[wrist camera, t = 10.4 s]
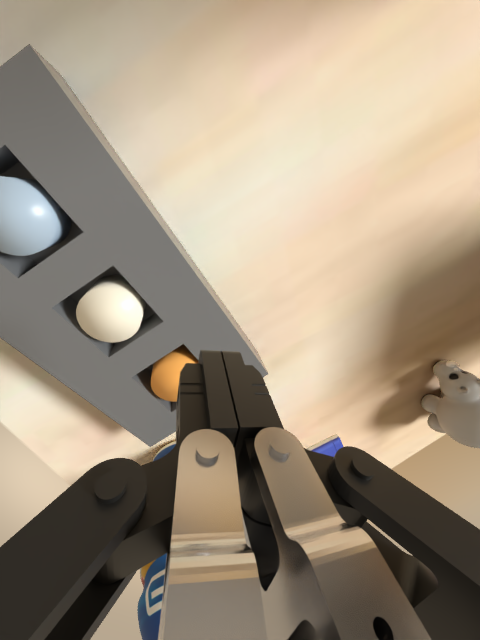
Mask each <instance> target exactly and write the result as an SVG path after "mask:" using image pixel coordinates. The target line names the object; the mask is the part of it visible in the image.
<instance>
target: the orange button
mask: <svg viewBox="0 0 480 640" xmlns="http://www.w3.org/2000/svg"><path fill="white" fill-rule="evenodd" d="M186 363H198V359H197V358H196V357H195V356H194V355H193V354H192V353H191V352H190V350H189V349H188V348H187V347H186V346H185V345H184V344H182V345H181V346H179V347H178V348H176V349H175V350H173V351H172V352H170V353H168V354H167V355H165V356H164V357H162V358H161V359H159V360H158V361H156V362H155V363H153V369H152V376H151V388H152V390H153V392H154V393H155V394H156V395H157V396H158V397H160V398H161V399H164V400H167V401H173V402H176V401H177V395H178V387H179V378H180V372H181V370H182V369H183V367H184V365H185V364H186Z"/></svg>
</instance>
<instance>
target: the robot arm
mask: <svg viewBox="0 0 480 640" xmlns="http://www.w3.org/2000/svg"><path fill="white" fill-rule="evenodd" d="M367 519H369V520H370V521H371V522H372V523H374V524H375V525H376V526H377V527H379V528H380V529H381V530H382V531H383V532H385V533H386V534H387V535H388V536H390V537H391V538H392V539H393V540H395V541H396V542H397V543H398V544H399V545H401V546H402V547H403V548H405V549H406V550H407V551H408V552H409V553H411V554H412V555H413V556H411V555H408V554H406V553H405V552H403V551H402V550H400V549H399V548H398V547H397V546H396V545H394V544H393V543H392V542H391V541H390V540H388V539H387V538H386V537H385V536H383V535H382V534H381V533H380V532H379V531H377V530H376V529H375V528H374V527H372V526H371V525H370V524H369V523H367V522H366V521H367ZM166 553H167V557H166V567H165V577H164V587H163V598H162V607H161V617H160V625H159V634H158V640H480V530H479V529H478V528H477V527H475V526H474V525H472V524H471V523H469V522H468V521H466V520H465V519H463V518H462V517H460V516H459V515H458V514H456V513H454V512H453V511H452V510H450V509H449V508H447V507H445V506H444V505H443V504H441V503H440V502H438V501H437V500H435V499H434V498H432V497H431V496H430V495H428V494H427V493H425V492H424V491H422V490H421V489H419V488H418V487H416V486H415V485H413V484H412V483H411V482H409V481H408V480H406V479H405V478H403V477H402V476H400V475H398V474H397V473H396V472H394V471H393V470H391V469H390V468H388V467H387V466H386V465H384V464H383V463H381V462H380V461H378V460H377V459H375V458H374V457H372V456H371V455H369V454H368V453H366V452H365V451H363V450H361V449H358V448H355V447H348V446H347V447H342V448H340V449H339V450H338V451H337V452H336V454H335V456H334V457H333V456H329V455H325V454H321V453H317V452H313V451H310V450H307V449H305V448H303V446H302V444H301V443H300V441H299V440H298V439H297V438H296V437H295V436H294V435H293V434H291V433H290V432H288V431H287V430H284V428H283V426H282V423H281V421H280V418H279V416H278V413H277V411H276V409H275V406H274V404H273V401H272V399H271V396H270V395H269V392H268V389H267V387H266V386H265V382H264V380H263V377H262V375H261V373H260V372H259V371H258V370H257V369H256V368H255V367H254V366H253V365H245V364H244V361H243V358H242V355H241V353H240V352H233V351H211V350H200V354H199V360H198V363H186V364H185V365H184V367H183V369H182V370H181V372H180V378H179V387H178V395H177V406H176V445H175V447H174V448H173V449H172V450H171V451H170V452H169V453H168V454H167V455H165V456H164V457H162V458H160V459H158V460H156V461H153V462H150V463H148V464H145V465H142V466H140V465H139V464H138V463H136V462H135V461H133V460H130V459H125V458H115V459H110V460H106V461H104V462H101V463H99V464H98V465H96V466H94V467H93V468H91V469H90V470H89V471H87V472H86V473H85V474H84V475H83V476H82V477H81V478H79V479H78V480H77V481H76V482H75V483H74V484H72V485H71V486H70V487H69V488H68V489H67V490H66V491H65V492H63V493H62V494H61V495H60V496H59V497H58V498H56V499H55V500H54V501H53V502H52V503H51V504H49V505H48V506H47V507H46V508H45V509H44V510H43V511H41V512H40V513H39V514H38V515H37V516H36V517H34V518H33V519H32V520H31V521H30V522H29V523H28V524H26V525H25V526H24V527H23V528H22V529H21V530H20V531H18V532H17V533H16V534H15V535H14V536H13V537H11V538H10V539H9V540H8V541H7V542H6V543H5V544H3V545H2V546H1V547H0V640H90V639H91V637H92V636H93V634H94V632H95V631H96V630H97V628H98V627H99V625H100V624H101V623H102V621H103V620H104V618H105V617H106V615H107V614H108V612H109V611H110V609H111V608H112V607H113V605H114V604H115V602H116V601H117V599H118V598H119V596H120V595H121V593H122V592H123V590H124V589H125V587H126V586H127V585H128V583H129V582H130V580H131V579H132V577H133V576H134V574H135V573H136V571H137V570H138V569H140V568H142V567H143V566H145V565H147V564H149V563H150V562H152V561H154V560H156V559H157V558H159V557H161V556H163V555H164V554H166Z"/></svg>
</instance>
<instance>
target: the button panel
mask: <svg viewBox="0 0 480 640" xmlns="http://www.w3.org/2000/svg"><path fill="white" fill-rule="evenodd" d="M0 176H4V177H18V178H29V179H34V180H37V181H38V182H39V183H40V184H41V185H42V186H43V188H44V189H45V190H46V191H47V192H48V193H49V194H50V195H51V196H52V198H53V199H54V200H55V201H56V202H57V203H58V204H59V205H60V207H61V208H62V209H63V210H64V211H65V212H66V213H67V214H68V215H69V217H70V218H71V227H70V231H69V233H68V235H67V236H66V237H65V239H63V240H62V241H61V242H59V243H57V244H55V245H53V246H51V247H48V248H46V249H44V250H42V251H40V252H37V253H35V254H32V255H26V256H16V255H10V254H6V253H3V252H0V338H1V339H3V340H4V341H6V342H7V343H8V344H10V345H11V346H12V347H14V348H15V349H17V350H18V351H19V352H21V353H22V354H23V355H25V356H26V357H28V358H29V359H30V360H32V361H33V362H34V363H36V364H37V365H39V366H40V367H41V368H43V369H44V370H45V371H47V372H48V373H49V374H51V375H52V376H54V377H55V378H56V379H58V380H59V381H60V382H62V383H63V384H65V385H66V386H67V387H69V388H70V389H71V390H73V391H74V392H76V393H77V394H78V395H80V396H81V397H82V398H84V399H85V400H87V401H88V402H89V403H91V404H92V405H93V406H95V407H96V408H98V409H99V410H100V411H102V412H103V413H104V414H106V415H107V416H108V417H110V418H111V419H113V420H114V421H115V422H117V423H118V424H119V425H121V426H122V427H124V428H125V429H126V430H128V431H129V432H130V433H132V434H133V435H135V436H136V437H137V438H139V439H140V440H141V441H143V442H144V443H146V444H147V445H148V446H150V447H151V446H153V445H154V444H156V443H158V442H159V441H161V440H162V439H164V438H166V437H167V436H169V435H171V434H172V433H174V432H175V431H176V406H177V401H176V402H173V401H167V400H164V399H161V398H160V397H158V396H157V395H156V394H155V393H154V392H153V390H152V388H151V376H152V369H153V363H155V362H156V361H158V360H159V359H161V358H162V357H164V356H165V355H167V354H168V353H170V352H172V351H173V350H175V349H176V348H178V347H179V346H181V345H182V344H184V345H185V346H186V347H187V348H188V349H189V350H190V352H191V353H192V354H193V355H194V356H195V357H196V358H197V359H198V360H199V354H200V350H211V351H233V352H240V353H241V355H242V358H243V361H244V364H245V365H253V366H254V367H255V368H256V369H257V370H258V371H259V372H260V373H261V375H262V377H264V376H266V375H267V374H268V372H267V370H266V368H265V366H264V364H263V362H262V360H261V358H260V356H259V354H258V352H257V350H256V349H255V348H254V346H253V345H252V343H251V342H250V340H249V339H248V338H247V336H246V335H245V333H244V332H243V331H242V329H241V328H240V326H239V325H238V324H237V322H236V321H235V319H234V318H233V317H232V315H231V314H230V312H229V311H228V309H227V308H226V307H225V305H224V304H223V302H222V301H221V300H220V298H219V297H218V295H217V294H216V293H215V291H214V290H213V288H212V287H211V286H210V284H209V283H208V281H207V280H206V279H205V277H204V276H203V274H202V273H201V271H200V270H199V269H198V267H197V266H196V264H195V263H194V262H193V260H192V259H191V257H190V256H189V255H188V253H187V252H186V250H185V249H184V248H183V246H182V245H181V243H180V242H179V240H178V239H177V238H176V236H175V235H174V233H173V232H172V231H171V229H170V228H169V226H168V225H167V224H166V222H165V221H164V219H163V218H162V217H161V215H160V214H159V212H158V211H157V210H156V208H155V207H154V205H153V204H152V202H151V201H150V200H149V198H148V197H147V195H146V194H145V193H144V191H143V190H142V188H141V187H140V186H139V184H138V183H137V181H136V180H135V179H134V177H133V176H132V174H131V173H130V172H129V170H128V169H127V167H126V166H125V164H124V163H123V162H122V160H121V159H120V157H119V156H118V155H117V153H116V152H115V150H114V149H113V148H112V146H111V145H110V143H109V142H108V141H107V139H106V138H105V136H104V135H103V133H102V132H101V131H100V129H99V128H98V126H97V125H96V124H95V122H94V121H93V119H92V118H91V117H90V115H89V114H88V112H87V111H86V110H85V108H84V107H83V105H82V104H81V103H80V101H79V100H78V98H77V97H76V95H75V94H74V93H73V91H72V90H71V88H70V87H69V86H68V84H67V83H66V81H65V80H64V79H63V77H62V76H61V75H60V74H59V73H58V72H57V71H56V70H55V69H54V68H53V67H52V66H51V65H50V64H49V63H48V62H47V61H46V60H45V59H44V58H43V57H42V56H41V55H40V54H39V53H38V52H37V51H36V50H35V49H34V48H33V47H32V46H31V45H30V44H29V45H28V46H26V47H25V48H24V49H22V50H21V51H20V52H19V53H17V54H16V55H15V56H13V57H12V58H11V59H10V60H8V61H7V62H6V63H5V64H3V65H2V66H1V67H0ZM111 275H118V276H123V277H124V278H125V279H126V280H127V281H128V282H129V284H130V285H131V286H132V287H133V288H134V289H135V290H136V291H137V292H138V294H139V295H140V296H141V297H142V298H143V299H144V300H145V301H146V306H145V310H144V314H143V318H142V321H141V325H140V327H139V329H138V331H137V332H136V333H135V334H134V335H133V336H132V337H130V338H129V339H127V340H124V341H121V342H113V343H112V342H104V341H100V340H97V339H95V338H93V337H91V336H90V335H88V334H87V333H86V332H85V331H84V330H83V329H82V328H81V326H80V325H79V323H78V320H77V317H76V309H77V305H78V303H79V301H80V299H81V298H82V297H83V296H84V295H85V294H86V293H87V291H88V290H89V289H90V288H91V287H92V286H93V285H94V284H95V283H96V282H97V281H98V280H99V279H101V278H103V277H106V276H111Z"/></svg>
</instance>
